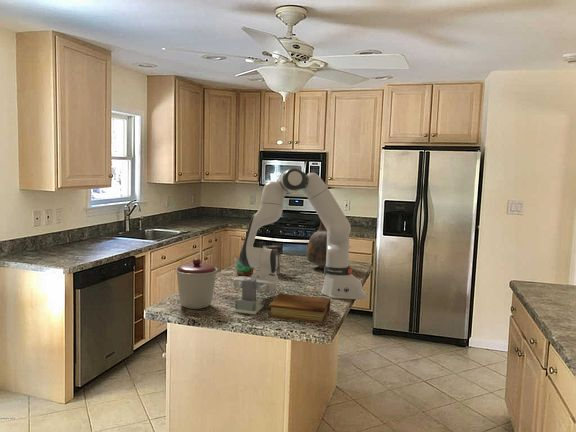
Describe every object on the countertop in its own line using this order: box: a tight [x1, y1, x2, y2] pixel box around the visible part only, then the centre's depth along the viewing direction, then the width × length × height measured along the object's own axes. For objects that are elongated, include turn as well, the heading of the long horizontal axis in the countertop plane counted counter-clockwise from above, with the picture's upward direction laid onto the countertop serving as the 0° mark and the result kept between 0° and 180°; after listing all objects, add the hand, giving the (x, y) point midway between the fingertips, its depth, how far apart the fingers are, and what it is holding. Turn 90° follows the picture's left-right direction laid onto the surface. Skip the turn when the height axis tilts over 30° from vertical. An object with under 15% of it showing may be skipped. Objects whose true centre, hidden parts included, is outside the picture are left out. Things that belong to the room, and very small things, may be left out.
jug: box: [306, 220, 327, 270], centre depth 290 cm, size 24×21×30 cm
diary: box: [268, 293, 331, 324], centre depth 202 cm, size 23×19×6 cm
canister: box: [175, 258, 219, 310], centre depth 205 cm, size 18×18×21 cm
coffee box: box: [262, 244, 282, 275], centre depth 272 cm, size 9×6×16 cm
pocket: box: [232, 296, 264, 315], centre depth 204 cm, size 10×11×5 cm
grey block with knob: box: [241, 278, 257, 301], centre depth 204 cm, size 5×5×13 cm
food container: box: [234, 256, 255, 277], centre depth 264 cm, size 12×6×10 cm, turn 68°
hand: (250, 287), depth 204 cm, fingers open, 8 cm apart
